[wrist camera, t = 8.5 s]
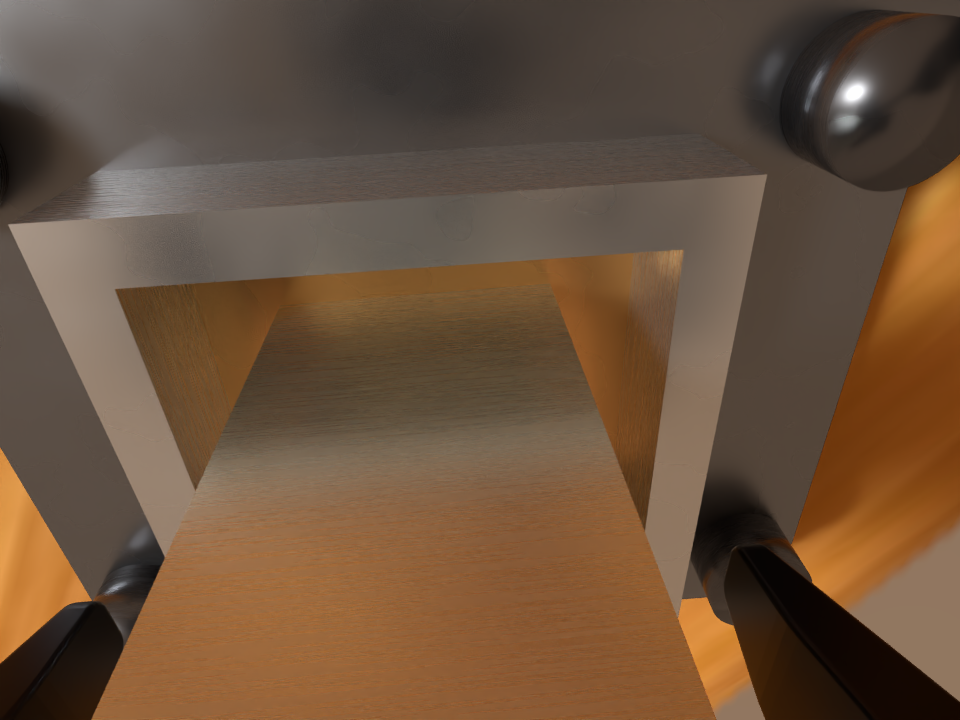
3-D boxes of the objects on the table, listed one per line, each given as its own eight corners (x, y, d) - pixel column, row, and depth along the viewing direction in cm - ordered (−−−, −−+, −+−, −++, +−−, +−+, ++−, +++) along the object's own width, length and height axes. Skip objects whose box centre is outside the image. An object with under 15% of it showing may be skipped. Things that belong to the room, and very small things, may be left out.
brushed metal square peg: (549, 283, 11) (782, 892, 4) (548, 527, 15) (670, 1101, 7) (280, 305, 11) (-28, 980, 4) (342, 546, 15) (248, 1151, 7)
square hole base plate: (901, -53, 11) (1153, -68, 7) (745, 535, 19) (824, 677, 15) (-149, 4, 10) (-486, 22, 7) (149, 586, 18) (75, 746, 15)
